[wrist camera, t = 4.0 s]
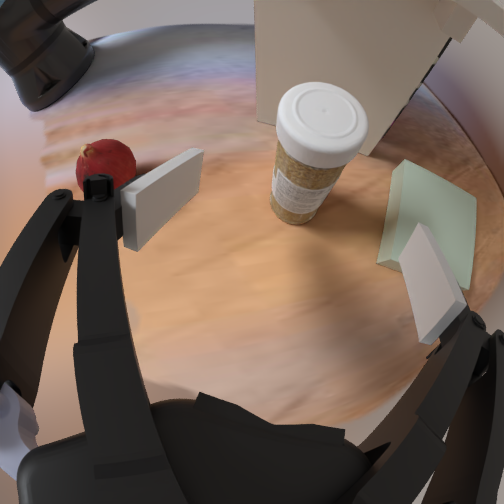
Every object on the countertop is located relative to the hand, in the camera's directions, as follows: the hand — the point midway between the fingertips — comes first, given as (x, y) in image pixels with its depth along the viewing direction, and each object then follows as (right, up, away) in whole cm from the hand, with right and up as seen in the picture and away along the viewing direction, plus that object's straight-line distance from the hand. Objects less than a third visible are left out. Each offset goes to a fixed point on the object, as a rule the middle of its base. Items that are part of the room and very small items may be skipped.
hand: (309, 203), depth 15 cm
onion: (-16, +4, +11) cm, 20 cm away
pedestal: (+15, -1, +9) cm, 17 cm away
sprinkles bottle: (+1, +2, +10) cm, 10 cm away
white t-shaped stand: (+2, +7, +10) cm, 13 cm away
